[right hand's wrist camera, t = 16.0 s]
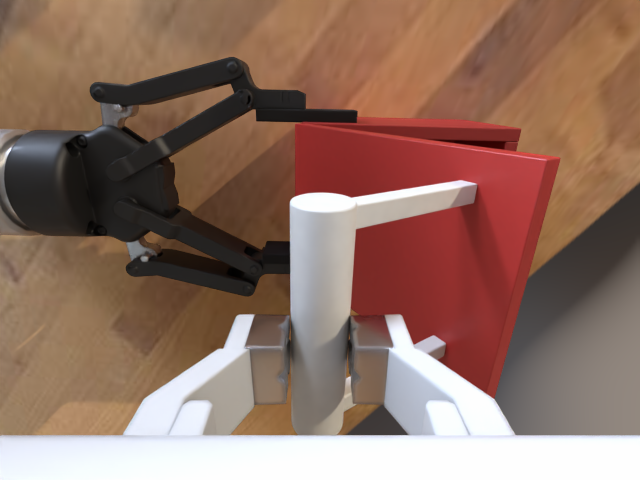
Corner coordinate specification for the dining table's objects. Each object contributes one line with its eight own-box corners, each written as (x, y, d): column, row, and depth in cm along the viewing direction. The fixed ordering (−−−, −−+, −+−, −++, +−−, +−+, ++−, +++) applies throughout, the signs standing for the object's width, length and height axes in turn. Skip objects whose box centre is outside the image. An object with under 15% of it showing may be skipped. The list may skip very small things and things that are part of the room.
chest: (464, 119, 31) (521, 128, 22) (446, 223, 34) (490, 266, 25) (306, 115, 30) (301, 123, 22) (305, 220, 34) (300, 262, 25)
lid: (561, 157, 10) (357, 186, 6) (494, 399, 14) (336, 517, 10) (306, 123, 21) (172, 125, 17) (305, 263, 25) (193, 293, 21)
